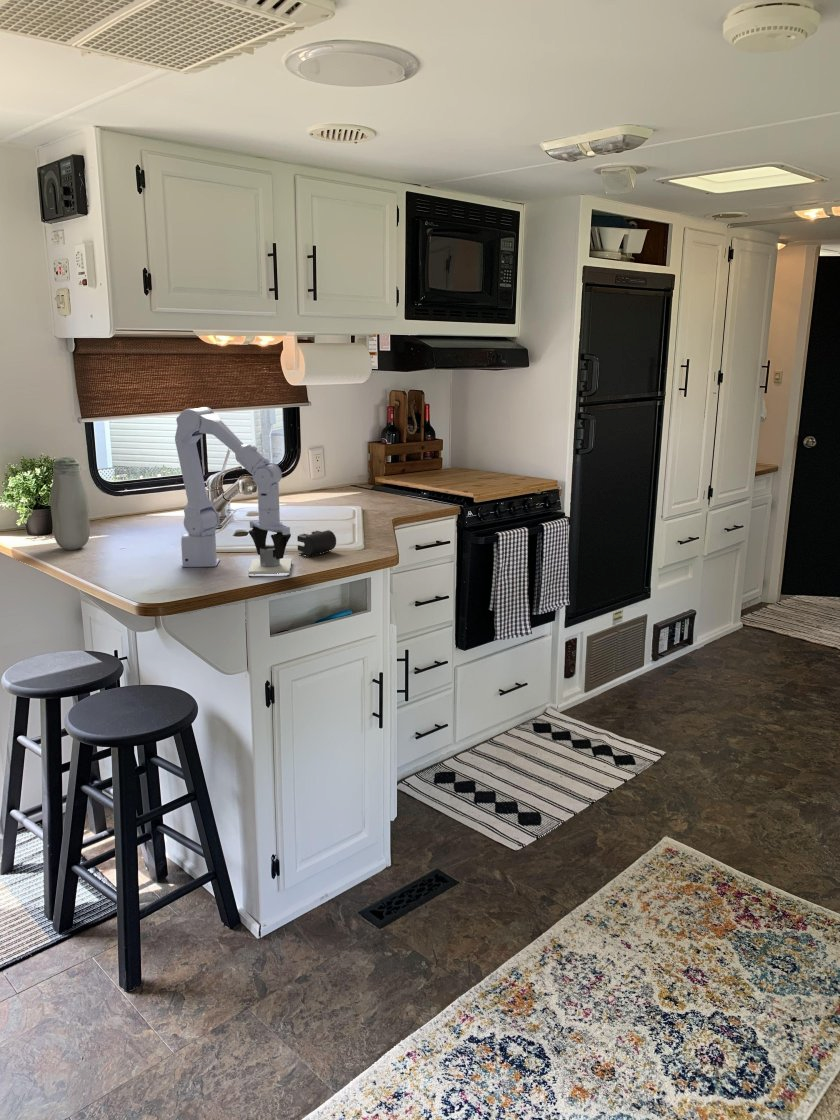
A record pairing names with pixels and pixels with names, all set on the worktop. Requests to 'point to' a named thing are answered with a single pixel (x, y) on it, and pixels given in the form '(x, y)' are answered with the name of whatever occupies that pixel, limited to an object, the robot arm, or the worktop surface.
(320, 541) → the black cylinder
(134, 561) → the worktop surface
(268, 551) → the sleeve
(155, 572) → the worktop surface
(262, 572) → the board
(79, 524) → the grey bottle
